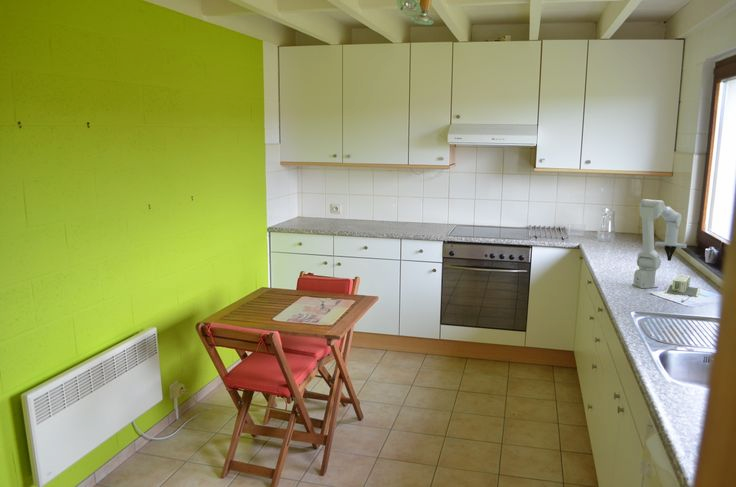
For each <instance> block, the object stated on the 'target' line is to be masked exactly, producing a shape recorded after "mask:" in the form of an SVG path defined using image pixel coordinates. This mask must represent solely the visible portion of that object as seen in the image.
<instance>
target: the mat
mask: <svg viewBox="0 0 736 487" xmlns="http://www.w3.org/2000/svg"><path fill="white" fill-rule="evenodd" d="M700 289H701V288H700V287H693V286H689V287H688V289H687V290H686V291H685V292H684V293H683V292H676V291H672V284H668V285H667V287H666V289H665V291H664V294H668V295H669V294H671V295H677V296H685V295H688V296H687V297H693V296H697V297H696V298H698V297H699V294H700V293H699V292H700V291H701V290H700Z"/></svg>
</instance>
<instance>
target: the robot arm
mask: <svg viewBox="0 0 736 487" xmlns="http://www.w3.org/2000/svg"><path fill="white" fill-rule="evenodd" d="M638 210H639V217H640V218H641V227H642V229H641V231H642V250H641V251H639V252H638V253H637V258H636V265H637V266H638V269H636V270H635V271H634V273H633V274H634V275H633V283H632V286H635V287H638V288H641V289H652V288H659V286H658V285H657V284H656V273H657V270H659V268H660V267H661V265H662V264H661V263H662V260H661V257H660V254H659V253H658V251H656V250H655V247H657V246H658V247H664V251H665V253H666V258H667V261H668V262H669V261H671V260H672V257H673V255H674V253H675V251H676V249H677V248H681V249H687V247H688V246H687V243H686V244H685V243H679V242H678V238H679V229H680V228H679V227H680V226H681V222H682V219H683V217H682V216H683V215H682V214H681V213H680V212H677V211H675V210H674V209H672V207H671V206H666V205H665V201H663V200H662V199H661V200H658V199H646V198H643V199H641V201H640V203H639V207H638ZM660 216H661V217H662V218H663V219H664V222H665V223H666V224H665V225H666V227H665V228H666V229H665V235H664V236H665V238H664V241H655V235H654V234H655V232H654V231H655V230H654V229H655V228H654V226H655V224H654V220H657V219H659V218H660Z"/></svg>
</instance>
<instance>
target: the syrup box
mask: <svg viewBox="0 0 736 487" xmlns="http://www.w3.org/2000/svg"><path fill="white" fill-rule="evenodd" d="M690 284H691V275H686V274H677V275H676V276H675V277H674V278H673V279H672V284H671V285H672V291H676V292H683V293H684V292H685V291H686V290H687V289H688V287H690Z"/></svg>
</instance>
